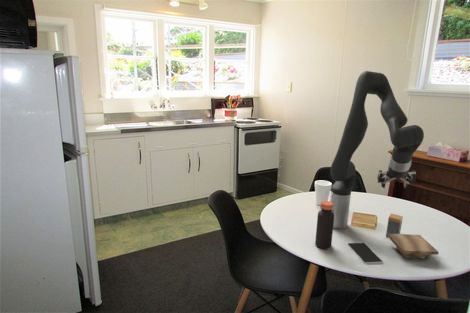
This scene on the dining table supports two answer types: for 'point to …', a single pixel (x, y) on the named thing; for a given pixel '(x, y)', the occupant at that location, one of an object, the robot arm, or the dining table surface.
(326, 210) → the bottle
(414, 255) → the stand
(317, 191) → the foam cup
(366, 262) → the smartphone
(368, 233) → the dining table surface
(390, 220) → the block
